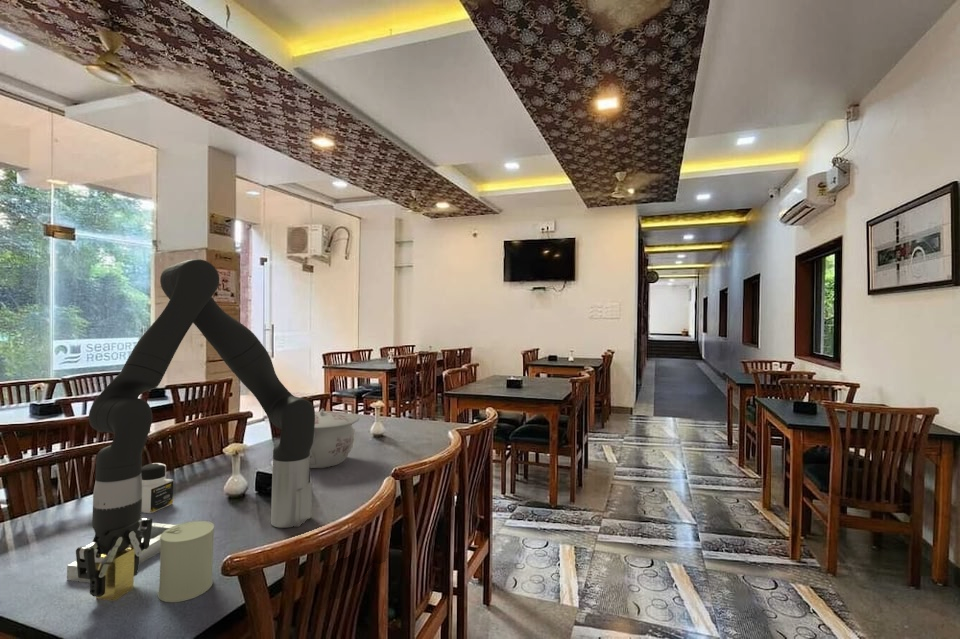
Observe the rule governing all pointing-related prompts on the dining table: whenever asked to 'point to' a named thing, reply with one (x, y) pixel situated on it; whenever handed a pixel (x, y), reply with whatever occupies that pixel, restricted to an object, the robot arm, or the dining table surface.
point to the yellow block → (119, 575)
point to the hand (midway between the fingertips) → (115, 584)
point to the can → (186, 561)
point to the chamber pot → (332, 438)
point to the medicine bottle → (155, 488)
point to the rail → (146, 554)
